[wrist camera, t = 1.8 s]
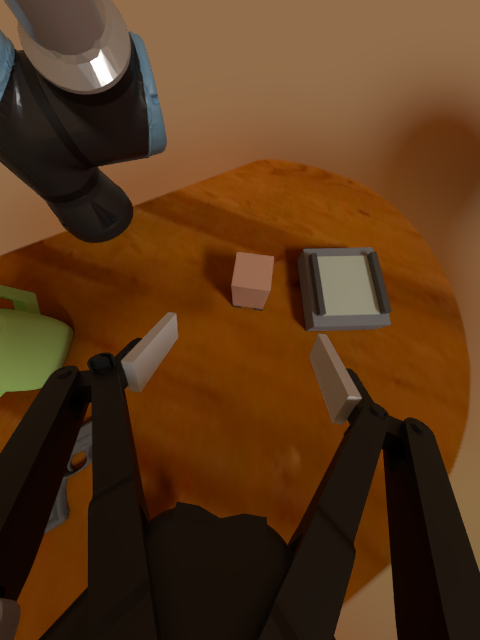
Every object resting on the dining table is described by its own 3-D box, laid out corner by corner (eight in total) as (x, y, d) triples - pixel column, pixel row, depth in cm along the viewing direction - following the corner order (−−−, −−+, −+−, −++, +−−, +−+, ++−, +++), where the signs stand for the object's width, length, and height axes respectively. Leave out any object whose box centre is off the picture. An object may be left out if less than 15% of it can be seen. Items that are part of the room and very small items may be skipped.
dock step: (297, 260, 40) (306, 244, 35) (359, 258, 41) (377, 242, 35) (306, 331, 36) (317, 325, 31) (375, 329, 37) (398, 322, 31)
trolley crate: (261, 310, 37) (270, 291, 28) (233, 306, 38) (231, 285, 28) (265, 284, 39) (274, 256, 29) (237, 280, 39) (237, 251, 29)
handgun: (24, 548, 26) (3, 465, 28) (41, 533, 28) (21, 457, 31) (146, 468, 29) (118, 399, 32) (152, 461, 32) (126, 397, 34)
